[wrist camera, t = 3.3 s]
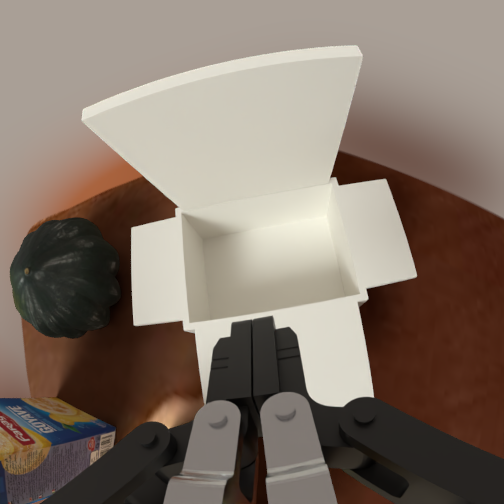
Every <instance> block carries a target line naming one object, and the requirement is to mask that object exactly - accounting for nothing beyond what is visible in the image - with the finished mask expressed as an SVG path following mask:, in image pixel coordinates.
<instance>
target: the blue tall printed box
mask: <svg viewBox="0 0 504 504" xmlns="http://www.w3.org/2000/svg"><path fill="white" fill-rule="evenodd" d="M115 431H116V427H114V426H112V425H110V424H107V423H105V422H103V421H101V420H99V419H97V418H95V417H93V416H91V415H89V414H87V413H85V412H83V411H81V410H79V409H77V408H75V407H73V406H71V405H70V404H68V403H66V402H64V401H62V400H60V399H59V398H57V397H48V398H0V504H31V503H34V502H37V501H40V500H43V499H45V498H48V497H50V496H51V495H52V494H54V493H55V492H56V491H58V490H59V489H60V488H62V487H63V486H64V485H66V484H67V483H68V482H70V481H71V480H72V479H74V478H75V477H76V476H77V475H79V474H80V473H81V472H83V471H84V470H85V469H86V468H88V467H89V466H90V465H91V464H93V463H94V462H95V461H96V460H98V459H99V458H100V457H101V456H103V455H104V454H105V453H106V452H107V451H109V450H110V449H111V448H112V447H114V439H115Z"/></svg>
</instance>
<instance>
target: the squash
mask: <svg viewBox="0 0 504 504" xmlns="http://www.w3.org/2000/svg"><path fill="white" fill-rule="evenodd" d="M119 265H120V263H119V255H118V253H117V251H116V249H115V248H114V247H112V246H111V245H110V244H109V243H108V242H107V241H105V240H104V239H103V237H102V234H101V232H100V230H99V229H98V227H97V226H96V225H95V224H93V223H92V222H90V221H89V220H87V219H84V218H68V219H64V220H60V221H59V220H51V221H47V222H45V223H43V224H42V225H41V226H40V227H39V228H38V229H37V230H36V231H34V232H32V233H30V234H28V235H27V236H26V237H25V238H24V240H23V243H22V245H21V247H20V250H19V252H18V253H17V255H16V256H15V258H14V260H13V262H12V264H11V267H10V281H11V285H12V288H13V298H14V303H15V307H16V309H17V310H18V312H19V313H20V315H21V317H22V318H23V319H25V320H26V321H28V322H29V323H31V324H32V325H33V326H34V328H35V329H36V330H38V331H39V332H40V333H42V334H44V335H46V336H49V337H54V338H59V337H67V338H72V339H73V338H79V337H81V336H83V335H84V334H85V333H86V332H87V331H89V330H96V329H100V328H103V327H105V326H107V325H108V323H109V320H110V309H109V307H110V306H112V305H114V304H116V303H117V302H118V301H119V299H120V297H121V289H120V286H119V283H118V281H117V279H116V277H115V276H116V275H117V273H118V271H119Z"/></svg>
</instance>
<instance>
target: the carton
mask: <svg viewBox="0 0 504 504" xmlns="http://www.w3.org/2000/svg"><path fill="white" fill-rule="evenodd" d="M175 211H176V217H175V218H170V219H166V220H161V221H157V222H153V223H149V224H144V225H140V226H136V227H132V228H131V276H132V305H133V322H134V326H142V325H151V324H160V323H168V322H176V321H183V327H184V331H187V332H191V333H195V338H196V346H197V355H198V363H199V370H200V378H201V385H202V392H203V399H204V405H206V398H207V390H208V383H209V375H210V371H211V369H210V367H211V362H212V353H213V348H214V346H215V345H216V343H217V342H218V340H219V339H220V338H224V337H230V334H231V324H232V322H237V321H244V320H250V319H252V321H253V319H255V318H261V317H267V316H272V315H273V318H274V322H275V326H276V329H279V328H285V327H290V328H291V329H292V330H293V331H294V332H295V333H296V334H297V338H298V343H299V349H300V354H301V360H302V365H303V371H304V377H305V383H306V388H307V392H308V394H309V396H310V397H311V398H312V399H313V400H314V401H316V402H317V403H319V404H322V405H325V406H335V407H344V406H345V405H346V404H347V403H348V402H350V401H351V400H353V399H356V398H359V397H373V398H374V394H373V387H372V380H371V373H370V367H369V361H368V355H367V349H366V343H365V338H364V332H363V327H362V322H361V317H360V312H359V307H360V306H361V305H362V304H363V303H365V302H366V301H367V300H368V294H367V290H366V289H368V288H373V287H377V286H382V285H386V284H391V283H395V282H399V281H404V280H408V279H412V278H415V277H417V273H416V270H415V266H414V262H413V259H412V255H411V252H410V248H409V245H408V242H407V238H406V235H405V232H404V229H403V226H402V223H401V220H400V217H399V214H398V211H397V208H396V205H395V202H394V199H393V197H392V194H391V191H390V188H389V186H388V183H387V180H386V179H381V180H374V181H367V182H360V183H354V184H347V185H341V186H339V185H338V182H337V179H336V177H334V178H330V180H329V183H327V184H321V185H315V186H309V187H303V188H297V189H292V190H286V191H281V192H275V193H270V194H264V195H259V196H254V197H249V198H244V199H239V200H234V201H229V202H224V203H219V204H215V205H210V206H205V207H201V208H196V209H191V210H187V211H183V210H182V209H181V208H175Z"/></svg>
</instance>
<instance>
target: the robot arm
mask: <svg viewBox="0 0 504 504" xmlns="http://www.w3.org/2000/svg"><path fill="white" fill-rule="evenodd" d="M210 369H211V371H210V375H209V383H208V390H207V398H206V405H204V406H203V407H202V408H201V409H199V411H198V412H197V414H196V415H195V418H194V420H193V421H191V422H189V423H186V424H183V425H180V426H177V427H174V428H170V429H168V428H167V427H166V426H165V425H163V424H162V423H159V422H146V423H143V424H141V425H139V426H138V427H136V428H135V429H134V430H133V431H132V432H130V433H129V434H128V435H127V436H126V437H124V438H123V439H122V440H121V441H120V442H118V443H117V444H116V445H115V446H114V447H112V448H111V449H110V450H109V451H107V452H106V453H105V454H104V455H103V456H101V457H100V458H99V459H98V460H96V461H95V462H94V463H93V464H91V465H90V466H89V467H88V468H86V469H85V470H84V471H83V472H81V473H80V474H79V475H77V476H76V477H75V478H74V479H72V480H71V481H70V482H68V483H67V484H66V485H64V486H63V487H62V488H60V489H59V490H58V491H56V492H55V493H54V494H52V495H51V496H50V497H48V498H47V499H46V500H44V501H43V502H42V503H40V504H256V497H257V484H258V471H259V452H258V437H263V441H264V448H265V456H266V464H267V475H266V489H267V497H268V504H337V500H336V496H335V493H334V489H333V485H332V481H331V477H330V474H329V470H328V467H329V468H341V469H342V470H343V471H344V472H346V473H347V474H349V475H350V476H352V477H353V478H355V479H356V480H358V481H359V482H361V483H362V484H364V485H365V486H367V487H369V488H370V489H372V490H373V491H375V492H377V493H378V494H380V495H381V496H383V497H385V498H386V499H388V500H390V501H391V502H393V503H395V504H504V459H502V458H500V457H498V456H495V455H493V454H490V453H488V452H486V451H484V450H481V449H479V448H477V447H475V446H472V445H470V444H468V443H466V442H463V441H461V440H459V439H457V438H455V437H453V436H451V435H448V434H446V433H444V432H442V431H440V430H438V429H436V428H434V427H432V426H430V425H428V424H426V423H424V422H422V421H420V420H418V419H416V418H414V417H412V416H410V415H408V414H406V413H404V412H402V411H400V410H398V409H396V408H394V407H392V406H390V405H389V404H387V403H385V402H383V401H381V400H379V399H377V398H373V397H359V398H356V399H353V400H351V401H350V402H348V403H347V404H346V405H345V406H344V407H335V406H325V405H322V404H319V403H317V402H316V401H314V400H313V399H312V398H311V397H310V396H309V394H308V392H307V388H306V383H305V377H304V371H303V365H302V360H301V354H300V349H299V343H298V338H297V334H296V333H295V332H294V331H293V330H292V329H291V328H290V327H285V328H279V329H276V326H275V322H274V318H273V315H272V316H267V317H261V318H255V319H253V321H252V319H250V320H244V321H237V322H232V324H231V334H230V337H224V338H220V339H219V340H218V342H217V343H216V345H215V346H214V348H213V353H212V362H211V367H210Z"/></svg>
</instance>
